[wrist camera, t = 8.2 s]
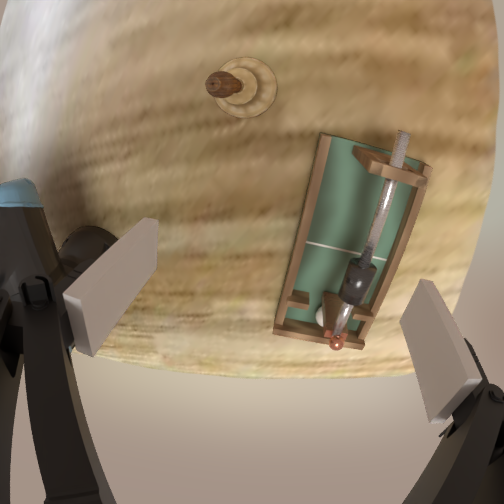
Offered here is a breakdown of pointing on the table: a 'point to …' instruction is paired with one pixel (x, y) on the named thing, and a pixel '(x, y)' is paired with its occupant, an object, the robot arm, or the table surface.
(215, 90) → the hand bell
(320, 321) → the ball
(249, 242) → the table surface
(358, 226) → the pitch
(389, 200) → the kicker
